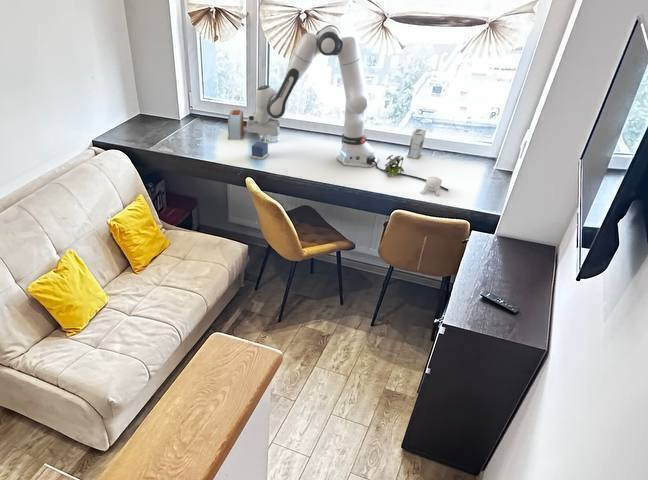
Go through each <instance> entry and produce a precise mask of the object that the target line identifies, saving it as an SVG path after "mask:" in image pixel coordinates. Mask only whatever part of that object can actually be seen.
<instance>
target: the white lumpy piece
mask: <svg viewBox="0 0 648 480" xmlns="http://www.w3.org/2000/svg"><path fill="white" fill-rule="evenodd" d="M426 180H427V181H425V185H424V187H423V189H422V191H421V194H424V193H426V191H430V192H434V191H435V195H436V196H439V195H440V191H439V190H440V189H441V187H440V186H442V182H443V179H442V178H440V177H437V176H427V177H426Z"/></svg>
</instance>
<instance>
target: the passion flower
mask: <svg viewBox="0 0 648 480" xmlns="http://www.w3.org/2000/svg"><path fill="white" fill-rule="evenodd" d="M393 156H394V155H393V154H391V155H389V156H387V158H386V159H385V160H386V161H388V160H389V161H388V162H387V163H385V164H384V169H383V170H387V171H389V172H387V176H388V177H390V176H391V177H393V176H396V175H398V174H397V173H401V174H402V172H403V173H404V172H405V170H404V168H403V167H402V165H403V163H404V162H403V161H404V156H401V155H396V156H395V157H393ZM392 157H393V158H392ZM399 165H400V166H399ZM391 172H392V173H391Z"/></svg>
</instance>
